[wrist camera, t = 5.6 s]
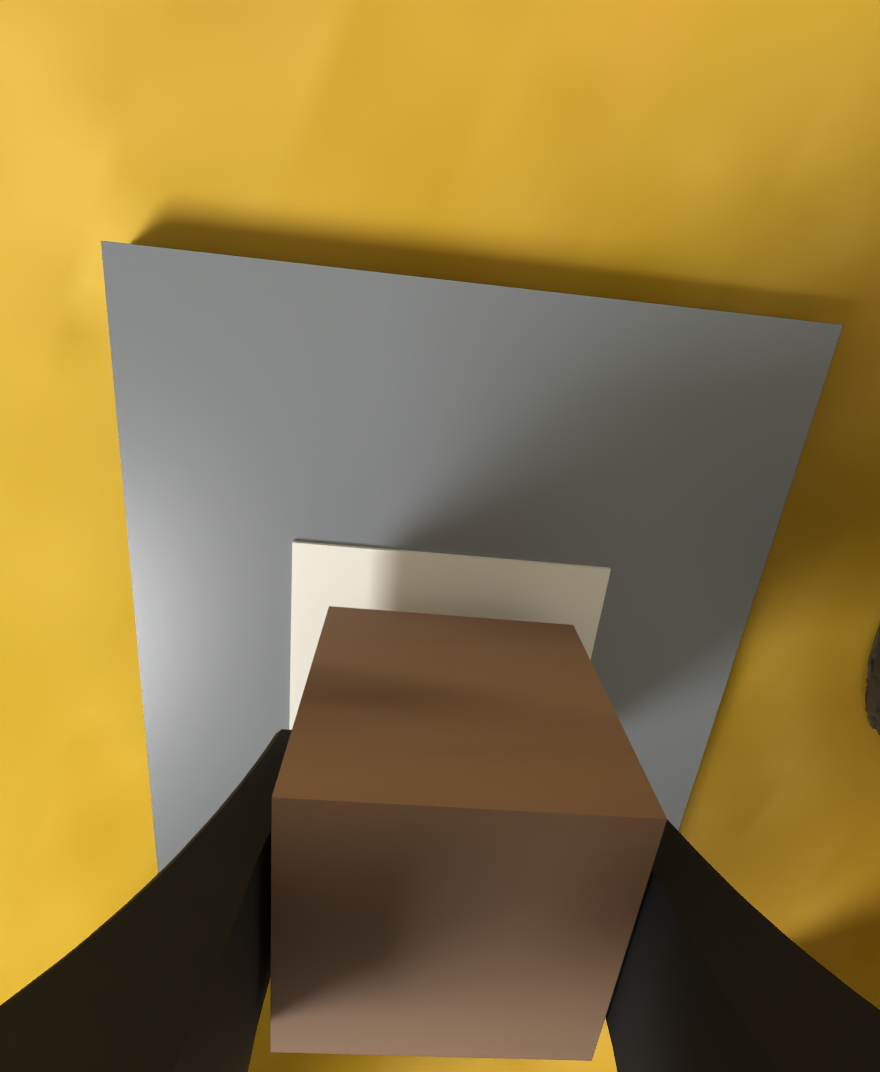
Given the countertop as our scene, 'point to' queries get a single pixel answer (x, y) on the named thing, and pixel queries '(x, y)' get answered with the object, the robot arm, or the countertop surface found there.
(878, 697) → the pillar candle
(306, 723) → the walnut block
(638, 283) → the countertop surface
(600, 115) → the countertop surface
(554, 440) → the base plate
